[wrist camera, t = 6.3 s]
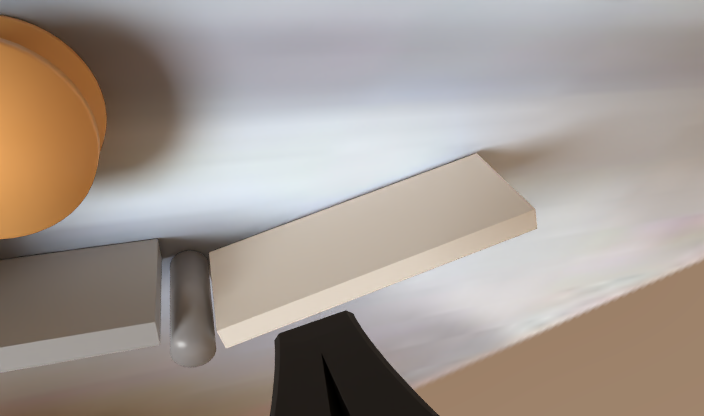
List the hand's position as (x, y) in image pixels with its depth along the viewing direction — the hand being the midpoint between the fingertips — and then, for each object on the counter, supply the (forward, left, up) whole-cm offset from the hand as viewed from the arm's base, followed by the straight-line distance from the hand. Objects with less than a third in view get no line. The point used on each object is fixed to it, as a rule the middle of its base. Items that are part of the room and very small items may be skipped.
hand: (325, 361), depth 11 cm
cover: (+2, -2, -9) cm, 9 cm away
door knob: (-7, +2, -9) cm, 11 cm away
